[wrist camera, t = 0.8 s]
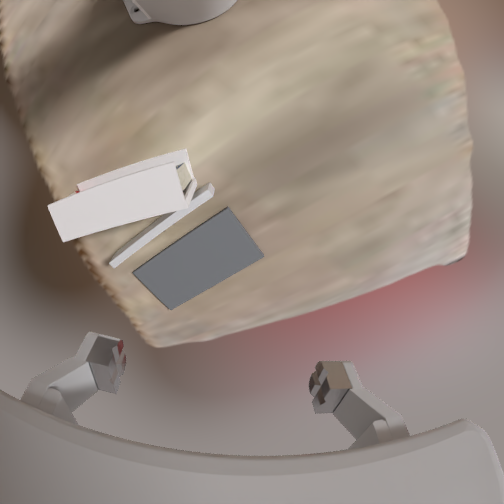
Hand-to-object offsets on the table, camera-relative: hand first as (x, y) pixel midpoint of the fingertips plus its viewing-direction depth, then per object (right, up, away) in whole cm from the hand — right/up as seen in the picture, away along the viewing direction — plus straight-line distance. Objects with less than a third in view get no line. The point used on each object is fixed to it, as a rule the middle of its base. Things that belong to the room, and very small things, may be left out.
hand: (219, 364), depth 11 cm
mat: (-8, +3, +35) cm, 36 cm away
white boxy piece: (-17, +15, +27) cm, 35 cm away
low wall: (-13, +9, +31) cm, 34 cm away
